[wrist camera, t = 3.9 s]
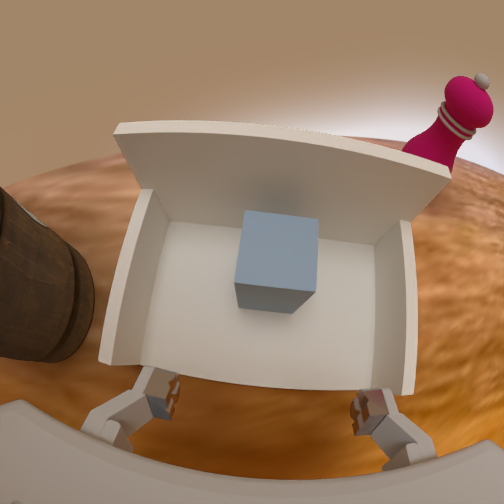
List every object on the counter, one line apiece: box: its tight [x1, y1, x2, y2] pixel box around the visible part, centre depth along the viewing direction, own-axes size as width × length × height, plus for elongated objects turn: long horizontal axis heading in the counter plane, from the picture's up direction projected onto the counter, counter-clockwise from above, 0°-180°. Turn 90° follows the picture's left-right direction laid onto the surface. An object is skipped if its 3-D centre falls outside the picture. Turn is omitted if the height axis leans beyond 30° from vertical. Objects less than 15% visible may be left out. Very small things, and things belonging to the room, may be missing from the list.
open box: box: [98, 120, 452, 396], centre depth 19 cm, size 24×16×14 cm, turn 83°
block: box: [234, 210, 318, 314], centre depth 21 cm, size 5×5×9 cm
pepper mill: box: [402, 73, 493, 174], centre depth 23 cm, size 7×7×20 cm
